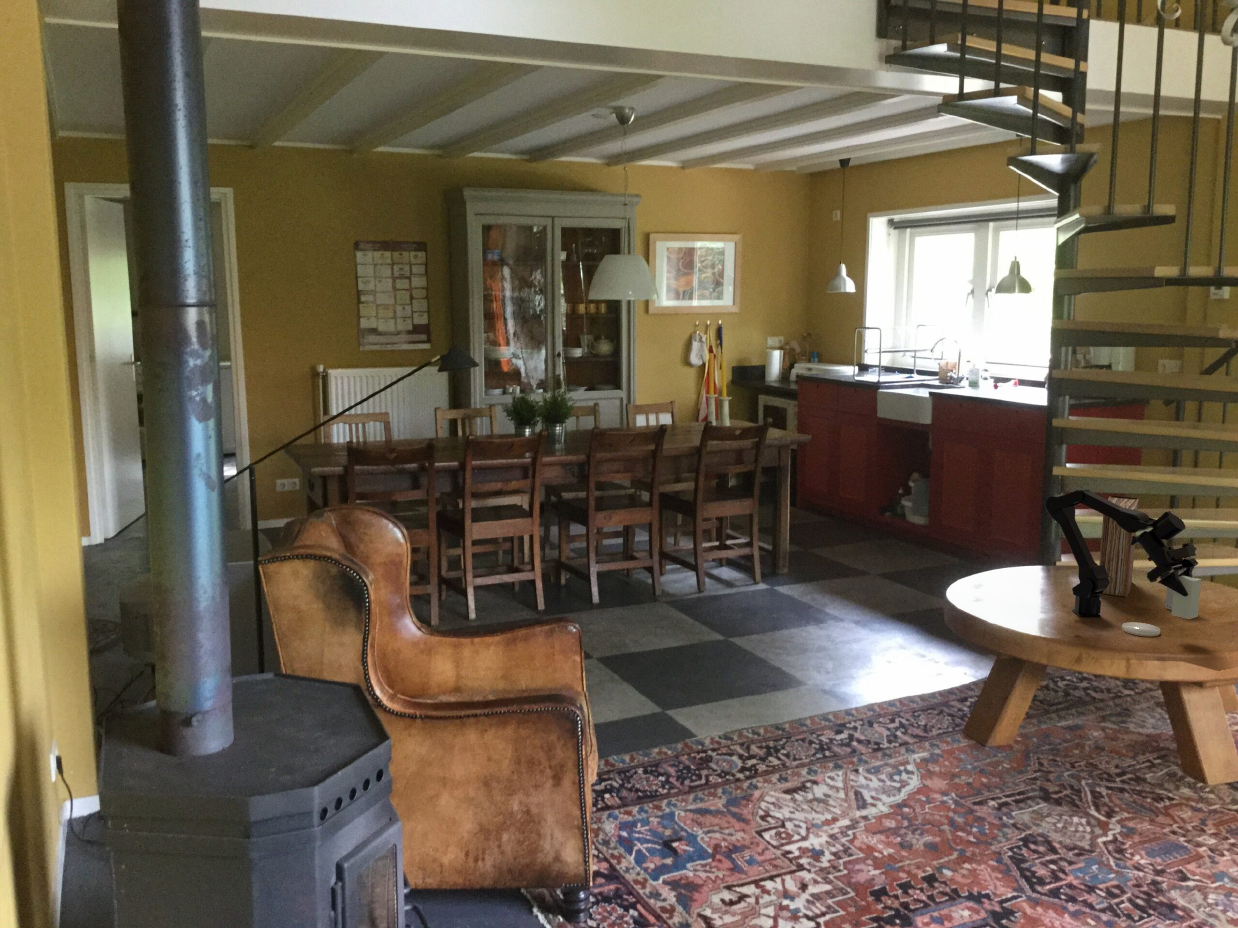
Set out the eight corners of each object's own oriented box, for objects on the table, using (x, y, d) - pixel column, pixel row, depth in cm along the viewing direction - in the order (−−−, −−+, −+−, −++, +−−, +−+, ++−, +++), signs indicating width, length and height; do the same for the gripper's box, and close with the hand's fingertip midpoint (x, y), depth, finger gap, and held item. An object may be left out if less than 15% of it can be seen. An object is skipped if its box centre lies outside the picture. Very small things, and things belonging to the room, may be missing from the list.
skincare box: (1175, 611, 328) (1178, 574, 327) (1164, 607, 332) (1167, 571, 331) (1190, 610, 330) (1194, 573, 328) (1180, 606, 334) (1183, 570, 332)
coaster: (1131, 635, 302) (1131, 631, 302) (1116, 625, 312) (1116, 621, 312) (1166, 636, 302) (1166, 632, 302) (1149, 626, 312) (1150, 622, 312)
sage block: (1188, 619, 296) (1192, 581, 294) (1171, 614, 300) (1174, 577, 298) (1197, 616, 299) (1201, 579, 297) (1180, 612, 303) (1183, 575, 301)
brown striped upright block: (1126, 598, 343) (1134, 509, 339) (1096, 594, 348) (1103, 506, 343) (1131, 581, 365) (1139, 497, 361) (1103, 578, 370) (1109, 495, 365)
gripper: (1161, 537, 294) (1197, 584, 286) (1194, 530, 304) (1230, 575, 297) (1131, 559, 301) (1166, 604, 294) (1165, 551, 312) (1199, 595, 305)
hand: (1191, 594), depth 297 cm, fingers closed on sage block, 5 cm apart
